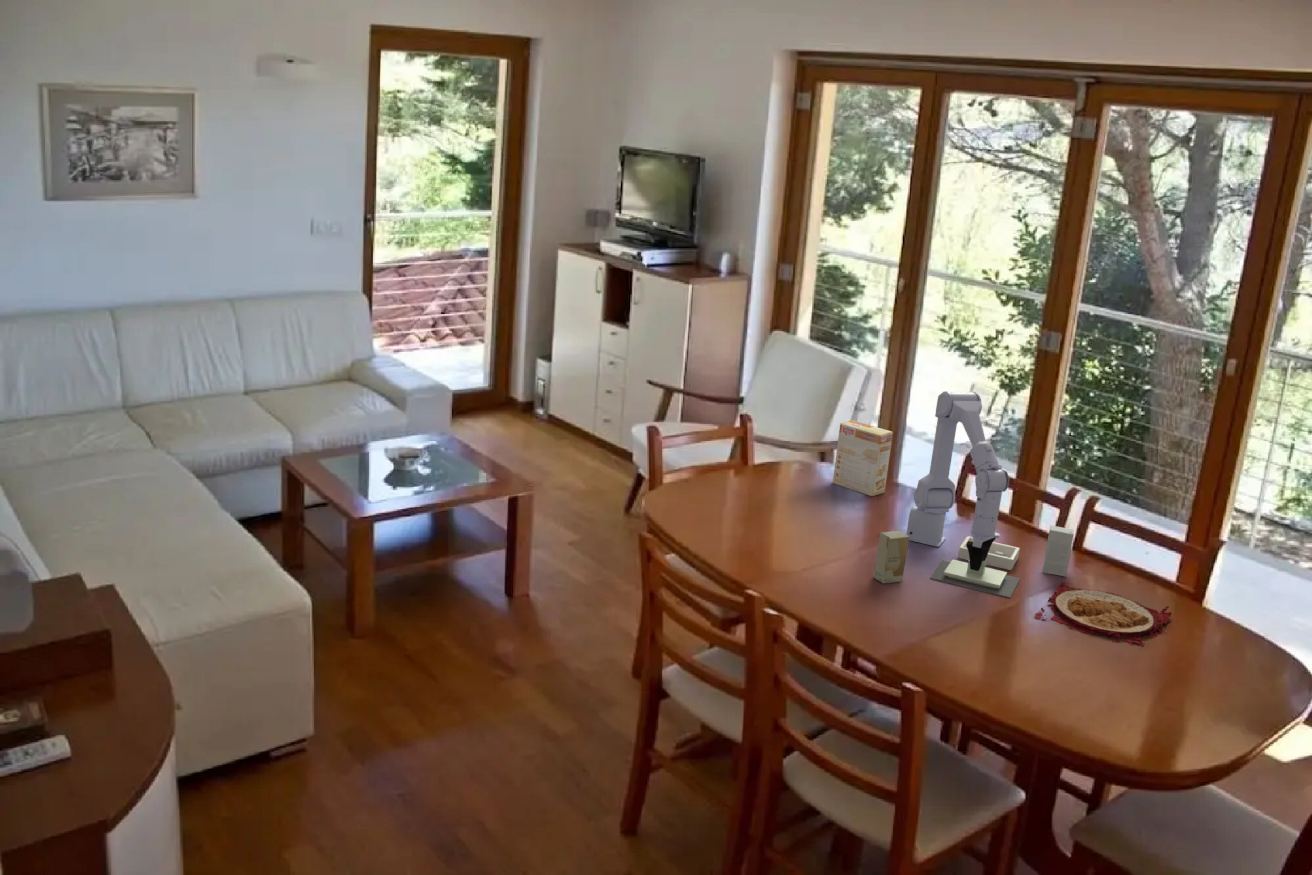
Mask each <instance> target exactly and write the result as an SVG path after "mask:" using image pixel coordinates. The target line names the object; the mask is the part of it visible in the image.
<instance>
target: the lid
mask: <svg viewBox="0 0 1312 875" xmlns="http://www.w3.org/2000/svg"><path fill="white" fill-rule="evenodd" d="M967 561H968V562H966V561H961V560H957V559H952V560H951V561H949V562H950V564H949V565H948V567H947V568H946V570H945V571H944V574H943V575H946V576H948V577H949V578H953V579H957V580H961V581H965V582H969V583H974V584H978V585H982V586H986V587H990V588H994V589H995V588H1000V586H1001V584H1002V582H1003V581H1004V579H1005V577H1006V575H1007V574H1008V571H1004V570H999V569H995V568H992V567H991V568H990V567H986V566H987V565H986V561H982V564H981V567H980V569H979V571H975V570H971V569H970V560H967Z"/></svg>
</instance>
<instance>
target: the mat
mask: <svg viewBox="0 0 1312 875" xmlns="http://www.w3.org/2000/svg"><path fill="white" fill-rule="evenodd" d="M950 562H951V561H948V560H943V559H942V561H941V562H940V564H938V566H937V567H936V569H934V571H933V573H932V574H931V575H930V577H929V579H930V580H934V581H936V582H937V581H938V582H941V583H942V582H943V583H946V584H950V585H954V586H959V587H962V588H967V589H970V590H975V591H979V592H982V593H987V594H991V595H994V596H998V597H1003V598H1007V599H1011V598H1012V596H1013V594H1014V591H1015V590H1016V588H1017V586H1018V584H1019V583H1020V579H1021V578H1020V577H1015V576H1011V575H1006V577H1005V579H1004V581H1003V582H1002V584H1001V586H1000V588H995V589H994V588H990V587H986V586H982V585H978V584H974V583H969V582H965V581H961V580H957V579H953V578H949V577H948V576H946V575H943V574H944V571H945V570H946V568H947V567H948V565H949V564H950Z"/></svg>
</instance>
